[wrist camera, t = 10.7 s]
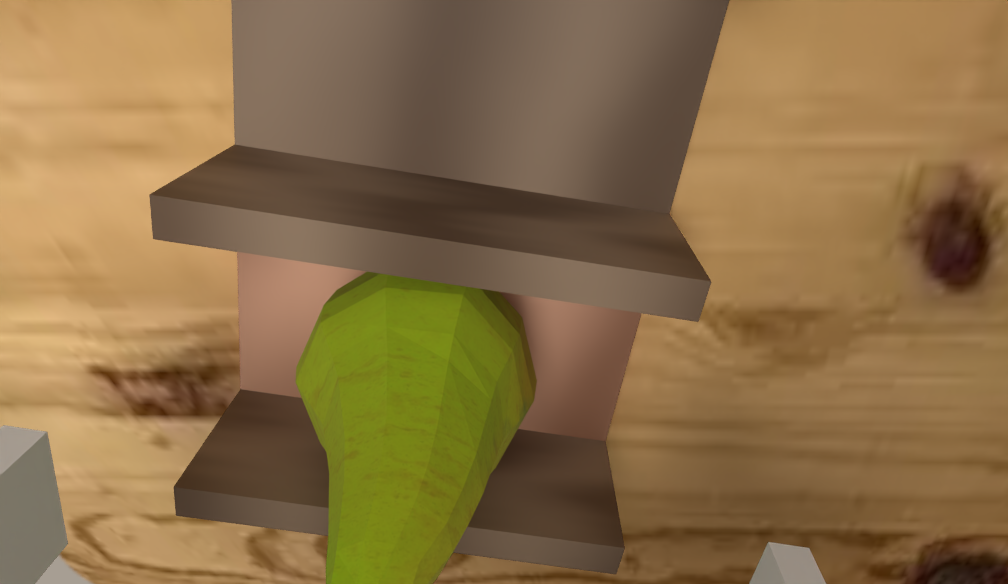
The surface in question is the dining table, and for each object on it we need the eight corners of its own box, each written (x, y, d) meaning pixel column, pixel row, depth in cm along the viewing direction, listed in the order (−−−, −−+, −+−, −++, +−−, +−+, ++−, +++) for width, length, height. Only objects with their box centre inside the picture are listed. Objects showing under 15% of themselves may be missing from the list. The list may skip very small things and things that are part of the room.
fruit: (331, 209, 18) (60, 540, 8) (550, 234, 19) (590, 591, 8) (332, 397, 21) (135, 835, 10) (523, 417, 21) (523, 869, 11)
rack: (742, -113, 16) (853, -157, 11) (594, 436, 23) (616, 574, 18) (251, -203, 16) (108, -297, 10) (257, 388, 23) (176, 515, 18)
